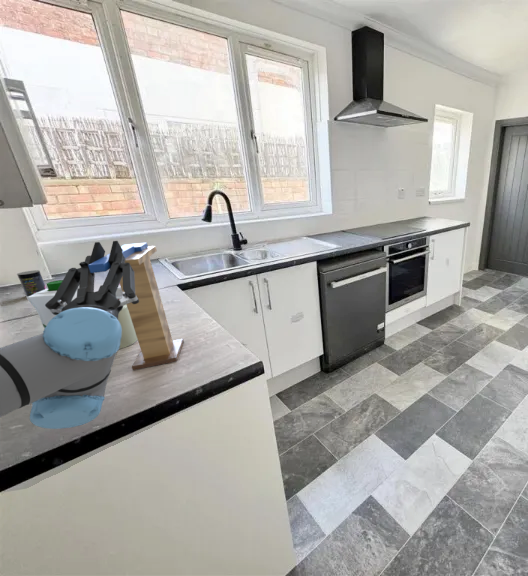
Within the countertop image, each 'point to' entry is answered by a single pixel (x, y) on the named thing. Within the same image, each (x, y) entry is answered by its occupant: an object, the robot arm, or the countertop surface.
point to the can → (126, 328)
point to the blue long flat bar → (103, 262)
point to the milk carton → (45, 301)
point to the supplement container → (31, 282)
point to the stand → (150, 315)
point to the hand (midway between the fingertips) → (109, 246)
